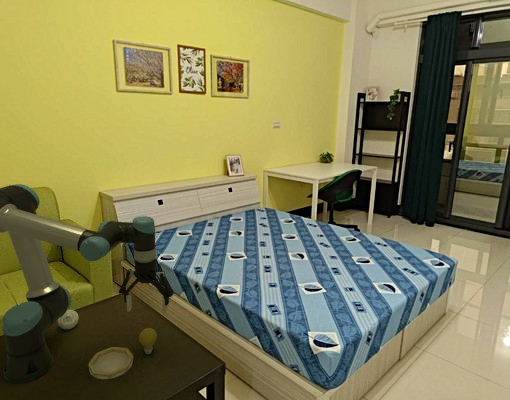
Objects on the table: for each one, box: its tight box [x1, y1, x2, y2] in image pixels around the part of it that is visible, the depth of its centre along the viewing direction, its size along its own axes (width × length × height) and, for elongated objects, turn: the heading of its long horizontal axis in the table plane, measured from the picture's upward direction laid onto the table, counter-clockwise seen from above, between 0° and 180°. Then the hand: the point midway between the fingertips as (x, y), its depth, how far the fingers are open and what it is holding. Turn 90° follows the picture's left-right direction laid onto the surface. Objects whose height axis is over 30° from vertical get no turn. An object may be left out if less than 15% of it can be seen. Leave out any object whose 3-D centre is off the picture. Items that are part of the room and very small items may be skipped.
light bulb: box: [138, 327, 158, 355], centre depth 138 cm, size 7×7×10 cm
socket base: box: [87, 346, 134, 380], centre depth 131 cm, size 15×15×2 cm
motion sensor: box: [56, 309, 80, 330], centre depth 151 cm, size 8×8×8 cm
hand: (147, 311), depth 134 cm, fingers open, 13 cm apart
